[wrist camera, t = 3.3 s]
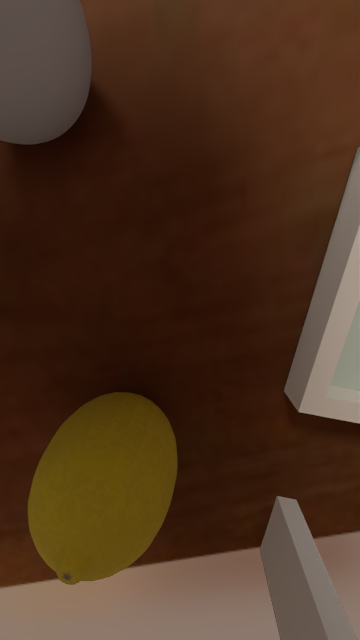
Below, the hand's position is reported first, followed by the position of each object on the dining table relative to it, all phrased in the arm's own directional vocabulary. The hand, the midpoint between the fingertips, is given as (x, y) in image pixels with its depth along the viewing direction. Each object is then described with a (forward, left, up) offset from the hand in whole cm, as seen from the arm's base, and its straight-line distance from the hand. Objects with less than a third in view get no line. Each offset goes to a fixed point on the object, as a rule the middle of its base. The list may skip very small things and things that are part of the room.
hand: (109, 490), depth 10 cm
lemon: (0, 0, -5) cm, 5 cm away
